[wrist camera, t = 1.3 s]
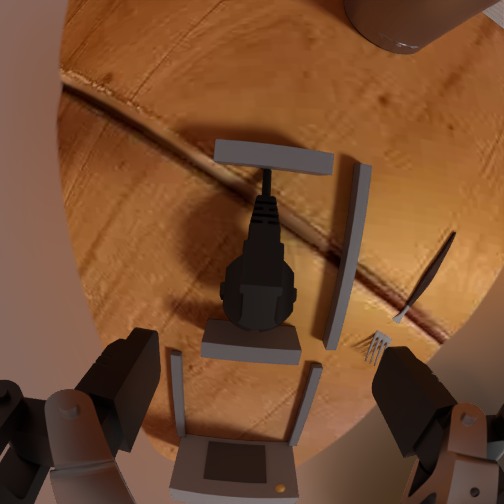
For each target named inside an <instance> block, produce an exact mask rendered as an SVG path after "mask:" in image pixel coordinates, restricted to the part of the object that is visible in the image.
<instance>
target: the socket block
mask: <svg viewBox="0 0 504 504" xmlns="http://www.w3.org/2000/svg"><path fill="white" fill-rule="evenodd" d="M322 370H323V367H322V364H315V363H312V365H311V369H310V372H309V376H308V380H307V383H306V387H305V390H304V393H303V397H302V400H301V403H300V407H299V410H298V413H297V416H296V419H295V422H294V426H293V429H292V432H291V435H290V437H289V440H288V442H263V441H245V440H232V439H222V438H213V437H205V436H198V435H192V434H186V425H185V410H184V392H183V367H182V352H179V351H172V353H171V373H172V387H173V399H174V410H175V420H176V429H177V436H179V437H181V440H180V444H179V449H178V453H177V457H176V461H175V465H174V469H173V473H172V478H171V482H170V486H169V489H170V493H171V496H172V499H173V500H174V501H179V502H184V503H191V504H295V503H296V501H297V500H298V498H299V494H298V486H297V479H296V471H295V463H294V455H293V448H292V446H297V443H298V440H299V438H300V435H301V432H302V430H303V427H304V424H305V421H306V419H307V416H308V413H309V410H310V407H311V404H312V401H313V398H314V395H315V392H316V389H317V386H318V383H319V379H320V376H321V373H322Z"/></svg>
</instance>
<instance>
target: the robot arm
mask: <svg viewBox="0 0 504 504" xmlns="http://www.w3.org/2000/svg"><path fill="white" fill-rule="evenodd" d="M500 1H502V0H344V8H345V11H346V14H347V16H348V18H349V20H350V21H351V23H352V24H353V25H354V27H355V28H356V29H357V30H358V31H359V32H360V33H361V34H362V35H363V36H364V37H366V38H367V39H368V40H370V41H371V42H372V43H374V44H376V45H377V46H379V47H381V48H383V49H385V50H388V51H390V52H394V53H397V54H413V53H415V52H417V51H419V50H421V49H422V48H424V47H425V46H427V45H428V44H430V43H431V42H433V41H434V40H436V39H438V38H439V37H441V36H442V35H444V34H446V33H447V32H449V31H450V30H452V29H454V28H455V27H457V26H458V25H460V24H462V23H463V22H465V21H467V20H468V19H470V18H472V17H473V16H475V15H477V14H479V13H480V12H482V11H484V10H485V9H487V8H489V7H491V6H493V5H494V4H496V3H498V2H500ZM160 373H161V365H160V352H159V337H158V332H157V331H155V330H149V329H143V328H138V327H135V328H134V329H133V331H132V332H131V333H130V335H129V336H128V337H127V339H126V340H125V339H118V340H116V341H114V342H113V343H111V344H109V345H108V346H107V347H106V349H105V350H104V351H103V352H102V354H101V356H99V357H98V359H97V360H96V363H94V364H93V365H92V366H91V368H90V369H89V370H88V372H87V373H86V374H85V375H84V377H83V378H82V379H81V381H80V382H79V383H78V385H77V386H76V387H75V389H66V390H61V391H58V392H56V393H54V394H52V395H51V396H50V397H49V398H48V399H47V400H39V399H33V398H26V397H24V396H23V394H22V392H21V390H20V387H19V386H18V385H17V384H16V383H14V382H12V381H10V380H0V455H1V454H2V452H3V450H4V449H5V447H6V445H7V444H9V445H10V447H9V449H8V450H7V452H6V454H5V456H4V457H3V459H2V460H1V462H0V504H34V503H35V500H36V498H37V495H38V494H39V491H40V489H41V487H42V485H43V482H44V480H45V478H46V476H47V474H48V472H49V469H50V467H55V469H54V470H51V471H50V480H51V485H52V488H53V492H54V495H55V499H56V502H57V504H136V502H135V500H134V498H133V496H132V494H131V492H130V490H129V488H128V487H127V485H126V483H125V480H124V478H123V476H122V474H121V472H120V470H119V468H118V465H117V463H116V461H115V457H116V454H117V452H118V450H122V451H126V452H131V449H132V447H133V444H134V442H135V439H136V437H137V434H138V432H139V429H140V427H141V424H142V422H143V419H144V417H145V415H146V412H147V410H148V407H149V405H150V402H151V400H152V398H153V395H154V393H155V391H156V388H157V386H158V383H159V380H160ZM433 374H434V373H433V372H432V371H431V369H430V368H429V367H428V366H427V365H426V364H424V363H423V362H422V361H420V360H419V359H417V358H416V357H415V355H414V354H413V353H412V352H411V351H410V349H409V348H408V347H406V346H398V347H387V348H386V349H385V351H384V353H383V355H382V358H381V361H380V363H379V366H378V369H377V371H376V374H375V376H374V379H373V382H372V394H373V397H374V399H375V400H376V402H377V404H378V406H379V408H380V410H381V412H382V414H383V416H384V418H385V420H386V422H387V424H388V426H389V428H390V430H391V432H392V434H393V436H394V438H395V440H396V443H397V445H398V447H399V449H400V451H401V453H402V455H403V457H404V458H406V457H410V456H413V455H417V456H418V459H417V460H416V462H415V463H414V465H413V469H412V472H411V475H410V478H409V481H408V483H407V486H406V489H405V491H404V494H403V497H402V499H401V502H400V504H504V472H503V470H502V469H501V467H500V465H499V464H498V462H497V461H498V459H499V458H500V457H501V456H502V455H503V454H504V404H503V405H502V407H501V408H500V410H499V411H498V413H497V414H496V415H485V414H484V413H483V411H482V410H481V409H480V408H478V407H477V406H475V405H473V404H470V403H459V404H458V403H457V401H456V400H455V399H454V398H453V397H452V395H451V394H450V393H449V391H448V390H447V389H446V388H445V386H444V385H443V384H442V383H441V382H439V379H438V378H437V377H436V375H433Z"/></svg>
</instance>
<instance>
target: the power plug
mask: <svg viewBox="0 0 504 504" xmlns="http://www.w3.org/2000/svg"><path fill="white" fill-rule="evenodd" d="M271 172H272V171H271V170H270V169H264V170H263V182H262V195H258V196H257V197H256V201H255V205H254V210H253V213H252V217H251V220H250V224H249V232H248V240H245V241H244V244H243V254H242V255H241V256H239V257H238V258H236V259H235V260H234V261H233V262H232V263H231V264H230V265H229V266H228V267H227V268H226V276H225V282H223V283H221V284H220V298H221V300H223V309H224V312H225V314H226V316H227V317H228V319H229V320H230V321H231V322H232V323H233V324H234V325H236V326H237V327H239V328H241V329H243V330H245V331H249V332H250V331H251V329H255V330H259V332H265V331H269V330H271V329H273V328H275V327H277V326H278V325H280V324H281V323H282V322H283V321H285V320H286V319H287V318H288V317H289V316H290V314H291V313H292V312H293V303H294V302H295V301H296V297H297V289H296V288H294V273H293V271H292V269H291V268H290V267H289V266H288V264H287V263H286V262H285V261H284V244H283V243H281V242H280V232H281V229H280V225H279V224H280V222H279V219H278V217H279V215H278V212H277V211H278V209H277V202H276V197H274V196H271Z"/></svg>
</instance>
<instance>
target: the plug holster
mask: <svg viewBox="0 0 504 504" xmlns="http://www.w3.org/2000/svg"><path fill="white" fill-rule="evenodd" d="M333 160H334V154H333V153H327V152H321V151H316V150H309V149H303V148H296V147H289V146H282V145H274V144H265V143H256V142H246V141H235V140H222V139H216V141H215V150H214V159H213V161H215V162H217V163H219V164H224V165H236V166H246V167H256V168H265V169H274V170H282V171H290V172H297V173H304V174H311V175H317V176H322V175H332V169H333ZM371 170H372V166H371V165H367V164H362V163H359V164H354V173H353V181H352V190H351V197H350V205H349V212H348V219H347V225H346V231H345V237H344V243H343V249H342V255H341V260H340V265H339V271H338V276H337V281H336V286H335V290H334V295H333V300H332V304H331V309H330V313H329V317H328V321H327V326H326V330H325V334H324V338H323V344H324V347H325V349H326V350H336V348H337V345H338V341H339V338H340V334H341V330H342V326H343V323H344V319H345V315H346V311H347V307H348V303H349V299H350V294H351V290H352V286H353V281H354V276H355V272H356V267H357V262H358V257H359V252H360V246H361V241H362V235H363V229H364V223H365V217H366V210H367V203H368V196H369V188H370V179H371ZM301 351H302V350H301V346H300V343H299V339H298V335H297V332H296V328H295V327H291V326H277V327H275V328H273V329H271V330H269V331H265V332H259V330H255V329H251V331H250V332H249V331H245V330H243V329H241V328H239V327H237V326H236V325H234V324H233V323H232V322H231V321H223V320H214V319H208V322H207V325H206V328H205V332H204V335H203V338H202V342H201V357H206V358H214V359H223V360H232V361H243V362H254V363H268V364H285V365H298V364H299V360H300V355H301Z"/></svg>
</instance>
